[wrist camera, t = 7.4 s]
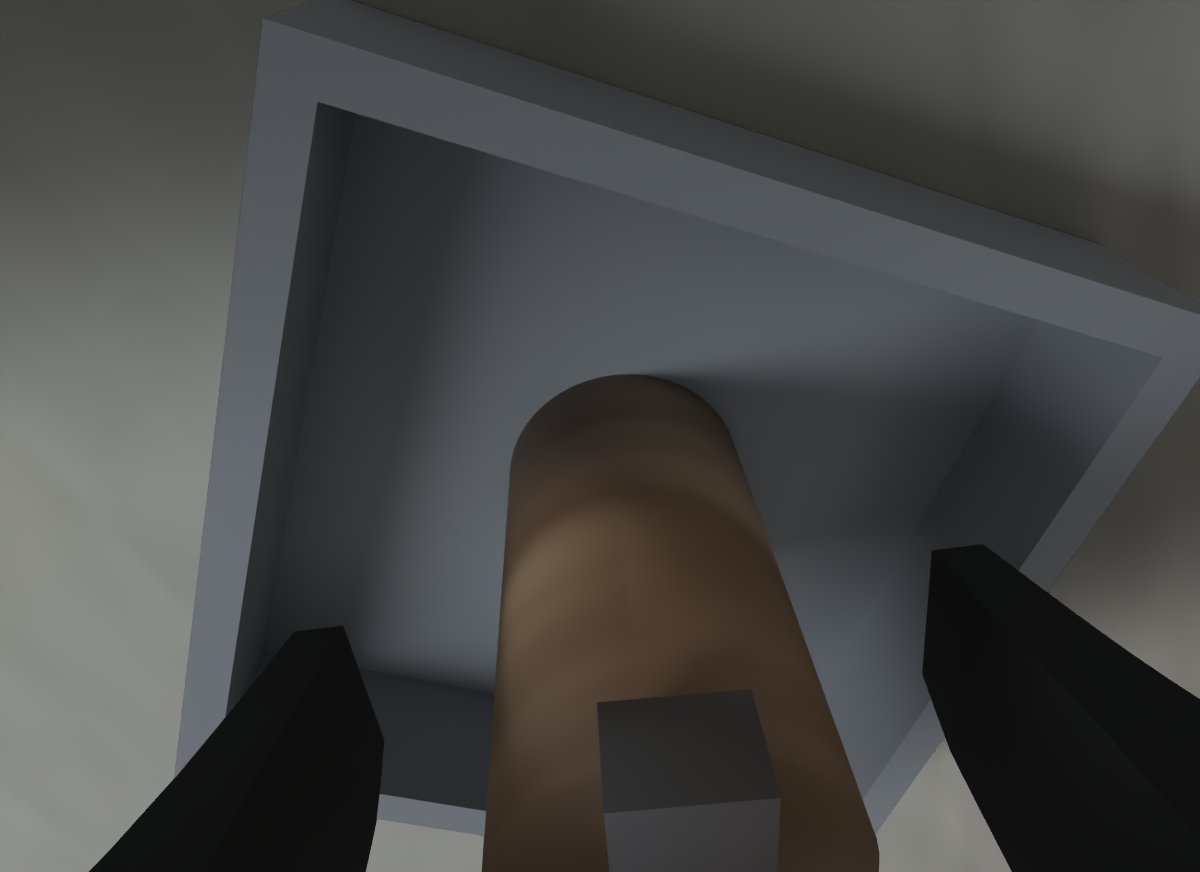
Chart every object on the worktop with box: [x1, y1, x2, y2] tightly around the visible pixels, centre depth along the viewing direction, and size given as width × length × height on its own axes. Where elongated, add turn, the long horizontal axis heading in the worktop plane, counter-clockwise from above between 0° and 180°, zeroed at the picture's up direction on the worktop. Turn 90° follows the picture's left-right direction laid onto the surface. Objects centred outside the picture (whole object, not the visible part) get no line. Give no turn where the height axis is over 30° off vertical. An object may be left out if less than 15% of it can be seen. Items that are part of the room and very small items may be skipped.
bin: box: [174, 0, 1200, 836], centre depth 13 cm, size 11×11×3 cm
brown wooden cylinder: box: [482, 374, 879, 872], centre depth 11 cm, size 4×5×8 cm
